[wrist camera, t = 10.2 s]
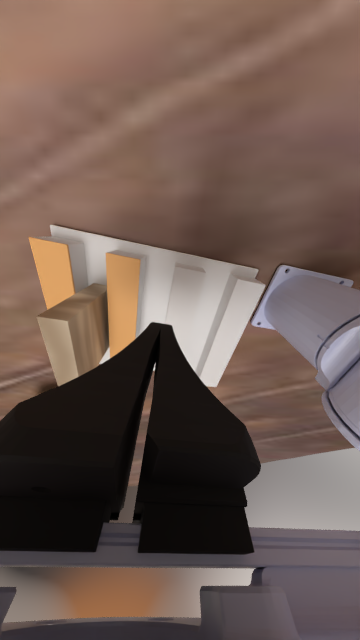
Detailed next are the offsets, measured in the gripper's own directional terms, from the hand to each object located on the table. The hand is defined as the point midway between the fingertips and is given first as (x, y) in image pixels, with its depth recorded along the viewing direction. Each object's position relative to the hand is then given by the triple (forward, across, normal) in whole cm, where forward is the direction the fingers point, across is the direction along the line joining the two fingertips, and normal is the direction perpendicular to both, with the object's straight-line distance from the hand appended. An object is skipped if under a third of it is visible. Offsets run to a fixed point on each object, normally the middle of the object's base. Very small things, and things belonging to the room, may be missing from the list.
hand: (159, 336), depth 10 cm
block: (+9, +8, +5) cm, 13 cm away
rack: (+10, +1, +5) cm, 11 cm away
